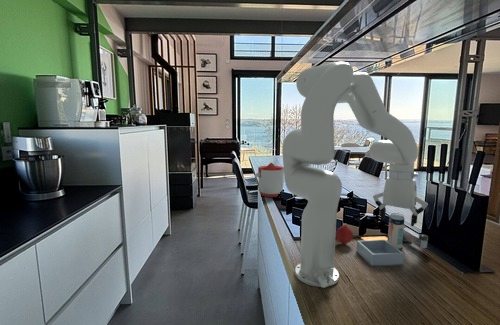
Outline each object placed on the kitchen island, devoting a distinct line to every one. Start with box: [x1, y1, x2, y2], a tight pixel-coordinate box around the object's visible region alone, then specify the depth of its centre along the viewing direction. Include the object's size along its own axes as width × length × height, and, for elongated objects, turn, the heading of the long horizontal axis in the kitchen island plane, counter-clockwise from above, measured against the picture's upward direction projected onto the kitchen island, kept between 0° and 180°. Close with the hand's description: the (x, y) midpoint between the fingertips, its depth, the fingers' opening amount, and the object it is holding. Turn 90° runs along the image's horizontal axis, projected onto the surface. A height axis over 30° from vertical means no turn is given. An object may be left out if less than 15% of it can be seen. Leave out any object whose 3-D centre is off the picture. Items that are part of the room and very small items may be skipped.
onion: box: [335, 223, 354, 246], centre depth 103 cm, size 6×6×8 cm
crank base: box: [360, 236, 411, 244], centre depth 108 cm, size 8×19×2 cm, turn 96°
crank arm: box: [403, 224, 429, 249], centre depth 103 cm, size 15×4×4 cm, turn 6°
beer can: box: [387, 212, 406, 250], centre depth 101 cm, size 5×5×12 cm
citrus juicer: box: [254, 162, 285, 198], centre depth 169 cm, size 16×17×20 cm
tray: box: [355, 240, 405, 268], centre depth 93 cm, size 10×10×4 cm
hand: (397, 221), depth 101 cm, fingers open, 9 cm apart
